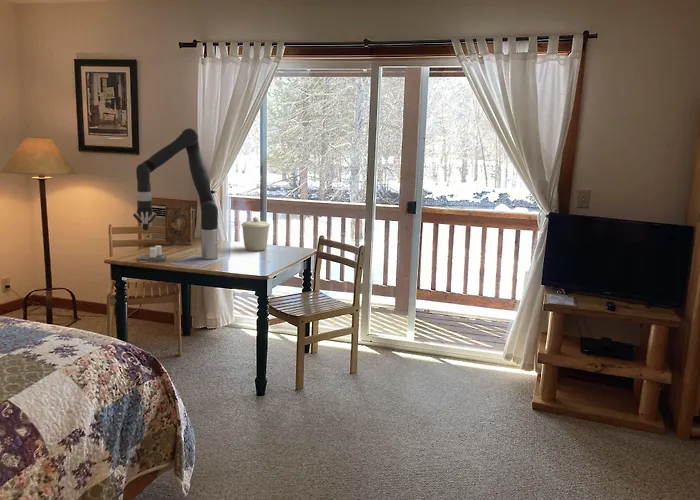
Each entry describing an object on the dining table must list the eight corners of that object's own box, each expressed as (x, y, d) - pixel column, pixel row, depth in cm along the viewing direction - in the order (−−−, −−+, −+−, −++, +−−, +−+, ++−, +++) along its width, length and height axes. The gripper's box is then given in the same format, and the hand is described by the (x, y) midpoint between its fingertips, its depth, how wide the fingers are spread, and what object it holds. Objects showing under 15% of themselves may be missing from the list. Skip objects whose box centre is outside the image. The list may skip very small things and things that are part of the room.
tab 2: (161, 254, 322) (161, 245, 321) (160, 255, 318) (160, 246, 318) (156, 254, 321) (155, 245, 320) (155, 255, 318) (155, 246, 317)
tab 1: (156, 256, 316) (156, 247, 315) (155, 257, 313) (155, 248, 312) (150, 256, 316) (150, 247, 315) (150, 257, 312) (149, 248, 311)
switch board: (166, 257, 324) (166, 254, 323) (165, 261, 314) (164, 258, 313) (141, 258, 321) (141, 254, 320) (138, 262, 311) (138, 258, 310)
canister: (235, 248, 359) (235, 216, 354) (259, 246, 370) (260, 214, 366) (250, 253, 345) (251, 219, 341) (275, 250, 357) (275, 218, 353)
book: (192, 243, 367) (191, 206, 362) (192, 245, 362) (191, 207, 357) (166, 244, 363) (165, 205, 358) (165, 245, 358) (164, 207, 353)
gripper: (157, 199, 317) (158, 229, 321) (133, 198, 314) (134, 229, 318) (156, 200, 310) (157, 231, 313) (130, 200, 307) (132, 231, 311)
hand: (145, 230), depth 316 cm, fingers closed
